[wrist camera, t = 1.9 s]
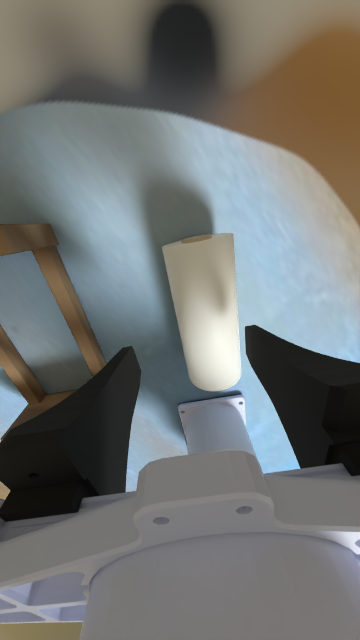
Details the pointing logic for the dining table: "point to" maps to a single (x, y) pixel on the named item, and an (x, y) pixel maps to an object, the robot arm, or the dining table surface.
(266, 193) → the dining table surface
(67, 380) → the dining table surface
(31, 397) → the holder
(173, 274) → the cylinder
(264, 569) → the robot arm
